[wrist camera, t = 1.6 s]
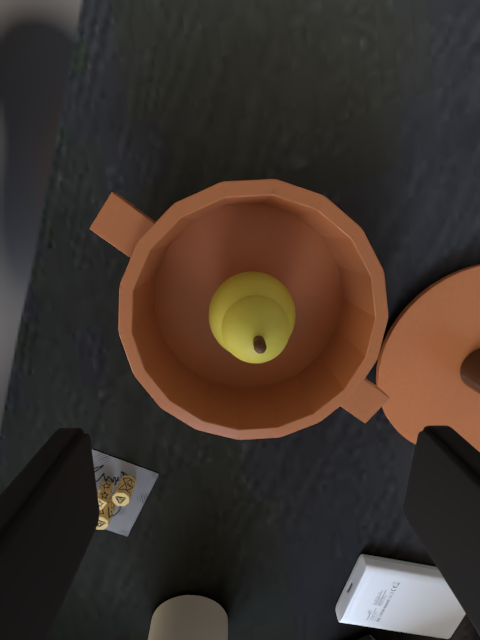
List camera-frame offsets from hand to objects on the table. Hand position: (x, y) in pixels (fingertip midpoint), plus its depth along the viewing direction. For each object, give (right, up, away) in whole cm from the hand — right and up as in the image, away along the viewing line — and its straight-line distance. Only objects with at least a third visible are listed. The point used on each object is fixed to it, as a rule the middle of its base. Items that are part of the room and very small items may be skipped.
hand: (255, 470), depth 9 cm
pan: (0, +6, +15) cm, 16 cm away
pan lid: (+19, +1, +17) cm, 25 cm away
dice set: (-13, -11, +20) cm, 26 cm away
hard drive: (+17, -24, +25) cm, 38 cm away
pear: (0, +6, +15) cm, 16 cm away
